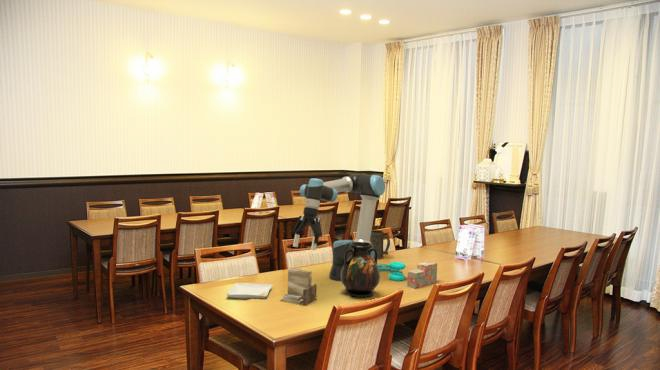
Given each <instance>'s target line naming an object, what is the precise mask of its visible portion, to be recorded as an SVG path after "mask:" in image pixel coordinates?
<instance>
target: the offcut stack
mask: <svg viewBox="0 0 660 370" xmlns="http://www.w3.org/2000/svg"><path fill="white" fill-rule="evenodd" d="M285 294H286V295H285ZM285 294H284V295H283V297H282V299H283V301H284V303H288V302H289V303H288V304H293V303H294V305H298V304H299V305H298V306H301V305H300V304H302V303H303V299H302V297H300V296H294V295H288V293H285ZM283 301H282V302H283Z"/></svg>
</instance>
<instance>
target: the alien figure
mask: <svg viewBox="0 0 660 370" xmlns="http://www.w3.org/2000/svg"><path fill="white" fill-rule="evenodd" d="M377 266H378V269H379V272H380V273H381V272H387V273H389V272H390V273H393V272H399V273H402V274H403V271H402V270H394V269H392V268H390V267H389V264H388V263H377Z"/></svg>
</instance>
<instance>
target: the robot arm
mask: <svg viewBox="0 0 660 370" xmlns="http://www.w3.org/2000/svg"><path fill="white" fill-rule="evenodd" d="M342 192H345V193H358V194H359V196H360V198H361V203H360V210H359V214H358V215H359V216H358V221H357V229H356V233H355V239H339V240H335V241H334V242H333V243H332V263H331V264H332V266H331V268H330V271H329V275H328V277H329V279H330V280H333V281H339V282H341V270H342V267H343V264H344V254H345V251H346V250H347V249H351V250H352V251H353V248H352V247H350V243H353V242H366V243H371V242H370V237H371V231H372V230H373V223H374V217H375V214H376V213H375V211H376V206H377V201H379V200H380V199H381V197H380V196H383V195H384V193H386V183H385V180H384V178H383V177H382V176H381V175H377V174H368V173H367V174H366V173H357V174H351V175H348V176H343V177H342V178H339V179H334V180H329V181H324V180H322V179H320V178H310V179H309V181H308V184H302V185H301V186H300V188H299V195H300V197H302V198H305V202H304V207H303V212H302V214H303V215H299V216H298V219H297V222H296V223H295V225H294V227H293V229H292V230H291V231H292V233H293V234H294V235H293V244H292V247H294V248H298V247H299V243H300V236H301V235H300V233H301V232H302V231H303V230H304V229H305V228H306V227H308V226H309V227H310V228H311V230H312V233H313V237H312V241H311V248H310V250H311V251H316V249H317V244H319V239H320V238H321V237H323V232H322V225H321V218H320V217H318V214H319V209H320V204H321V203H320V202H321V201H324V202H325V201H326V202H327V203H329V202H330V203H334V202H336V200H337V199H338V194H339V193H342ZM370 249H372V248H370ZM374 254H375V253H374V251H372V252H371V254H370V256H371V257H372V258H374ZM351 255H352V254H351V251H350V252H348V253H347V259H348V258H349V257H350V256H351Z"/></svg>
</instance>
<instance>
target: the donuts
mask: <svg viewBox="0 0 660 370" xmlns="http://www.w3.org/2000/svg"><path fill="white" fill-rule="evenodd" d="M388 265H389V267H390V268H392V269H394V270H400V271H402V270H404V269H406V263H404V262H401V261H391V262H389V264H388ZM388 279H390V280H391V281H396V282H400V281H404V280H405V279H406V276H405V274H403V272H402V273H399V272H393V273H391V272H390V273H389V274H388Z"/></svg>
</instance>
